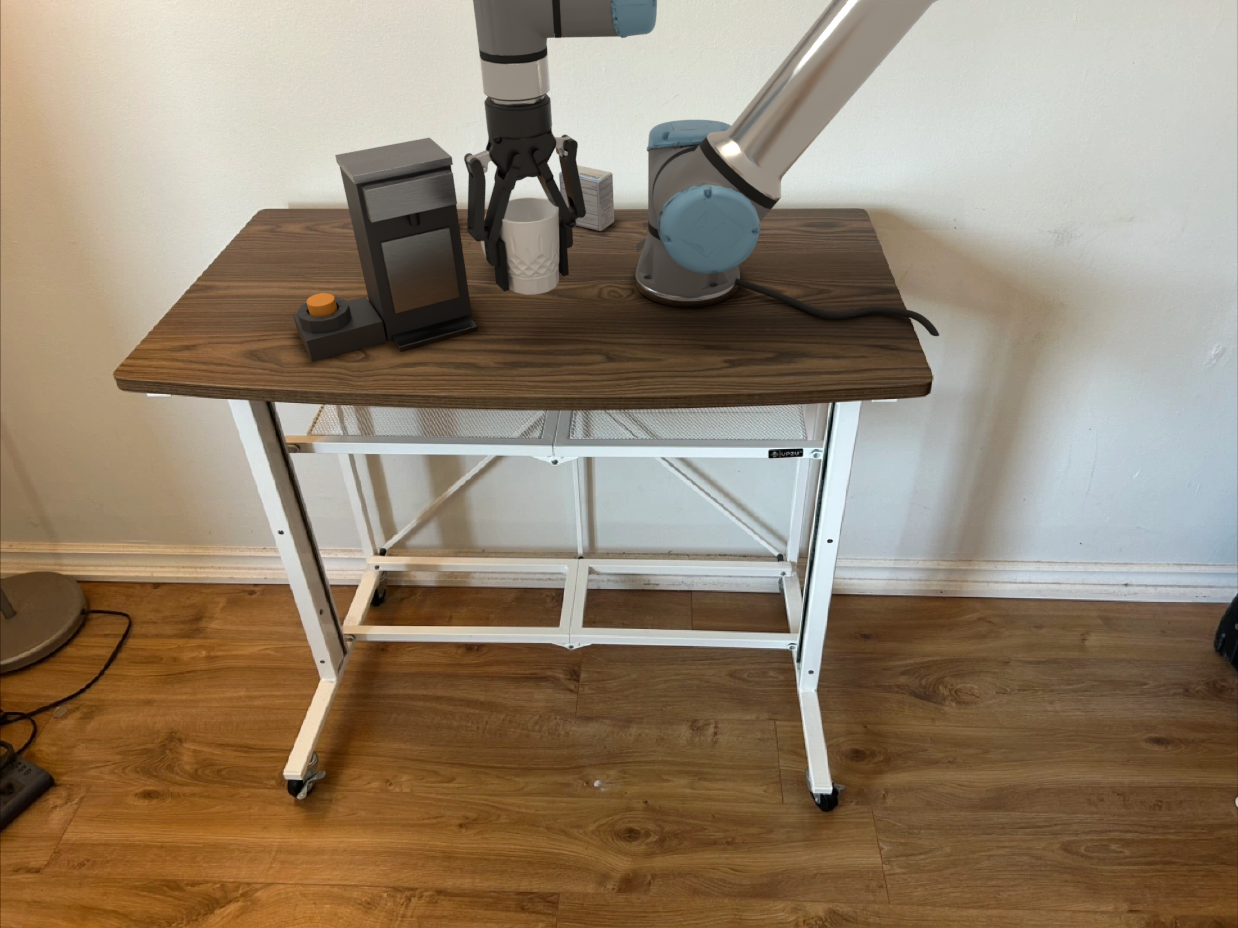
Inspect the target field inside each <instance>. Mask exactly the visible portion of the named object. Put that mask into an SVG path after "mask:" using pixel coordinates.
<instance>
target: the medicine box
mask: <svg viewBox="0 0 1238 928" xmlns="http://www.w3.org/2000/svg"><path fill="white" fill-rule="evenodd" d="M577 167H578V173H579V178H580V183H581V188H582V193H583V199H584V204H585V209H586V215H585V216H584V217H583V218H577V219H576V225H575V226H577V227H582V228H586V229H591V230H593V231H594V230H595V231H598V232H603V231H604V230H605V229H606V228H608V227H609V226H610V225H612V224H613V223H615V205H614V204H615V203H614V179H613V178H614V176H613V175H614V174H613V173H612V172H611V171H606V170H601V169H597V168H592V167H588V166H584V165H583V166H582V165H578V164H577ZM558 182H559V190H560V192H561V195H562V197H563V199H564V201H565V203H566V205H567V207H569V205H568V200H567V195H566V190H565V185H564V180H563V175H562V171H560V172H559V173H558Z"/></svg>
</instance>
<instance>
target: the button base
mask: <svg viewBox="0 0 1238 928" xmlns="http://www.w3.org/2000/svg"><path fill="white" fill-rule="evenodd" d="M334 297H335V300H336V305H337V311H336V312H334V313H332V314H331V315H327V316H312V315H310V313H309V310H308V306H307V301H306V302H304V303H302V304H301V305H300V306H299V308H298V309H297V311H296V313H293V314H292V317H293V320H294V324H295V327H296V331H297V335H298V337H299V339H300V341H301V342H302V345H303V347H304V348H305V351H306V352H307V354H308V356H309V358H310V360H311V362H317V361H321V360H324V359H327V358H331V357H335V356H339V355H342V354H347V353H351V352H354V351H357V350H362V349H365V348H369V347H372V346H376V345H380V344H383V343H387V342H388V340H387V338H386V336H385V332H384V327H383V322H382V320H381V319H380V317H379V316H378V314H377V313H376V311H375V310H374V308H373V307H372V305H371V304H370V302H369V299H368V297H366V296H362V297H358V298H354V299H350V300H346V299H344V298H342V297H338V296H334Z"/></svg>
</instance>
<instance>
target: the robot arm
mask: <svg viewBox="0 0 1238 928" xmlns="http://www.w3.org/2000/svg"><path fill="white" fill-rule="evenodd" d="M937 1H939V0H831V1H830V3H829V4H828V5H827V6H826V8H824V10H823V12H822V13H821V14H820V15H819V16H818V18H817V19H816V20H815V21H814V22H813V23H812V25H811V26H810V27H809V29H808V30H807V32H806V33H804V34H803V36H802V37H801V38H800V40H799V41H798V42H797V44H795V46H794V47H793V48H792V49H791V50H790V52H789V53H788V54H787V56H786V57H785V58H784V59H783V61H782V62H781V64H780V65H779V66H778V67H777V68H776V70H775V71H774V72H773V73H772V75H770V77H769V78H768V80H766V82H765V83H764V85H763V86H762V87H761V88H760V89H759V91H758V92H757V93H756V94H755V95H754V96H753V98H752V99H751V101H750V102H749V103H748V104H747V106H746V107H745V108H744V110H742V112H741V113H740V114H739V115H738V117H736V119H735V120H734V122H733V123H732V124H729V123H727V122H724V121H719V120H711V119H681V120H671V121H666V122H662V123H659V124H657V125H654V126H653V127H652V128H651V129H650V130H649V132H648V133H649V134H648V139H647V140H648V142H647V147H646V152H647V153H648V155H647V157H648V160H647V163H648V165H647V173H648V176H647V177H648V178H647V179H648V183H647V192H648V193H647V221H648V222H647V234H646V235H647V236H646V237H645V238H643V239H642V240H640V241H639V242H638V243H637V244H636V253H638V252H640V251H641V253H640V256H639V259H638V261H637V264H636V268H635V286H636V288H637V291H639V293H640V294H641V295H642V296H644V297H645V298H647V299H649V300H651V301H653V302H656V303H659V304H661V305H665V306H672V307H680V308H697V307H699V308H700V307H706V306H711V305H716V304H718V303H721V302H723V301H725V300H728V299H729V298H731V297H733V295H735V294H736V293H737V291H738V290H739V288H740V287H741V288H743V289H747V290H750V291H752V292H755V293H758V294H761V295H764V296H766V297H769V298H772V299H775V300H777V301H780V302H783V303H785V304H789V305H790V306H793V307H795V308H797V309H799V310H801V311H804V312H806V313H808V314H810V315H813V316H817V317H821V318H827V319H847V318H854V317H859V316H863V315H869V314H884V315H892V316H899V317H900V316H901V317H904V318H905V317H906V318H909V319H912V320H913V321H916V322H918V323H919V324H920V325H921V326H923V327H924V328H925V330H926V331H927V332H928V333H929V335H931V336H932V337H940V333H939V331H938V330H937V328H936V326H935V325H934V324H933V323H932V322H931V321H930V320H929V319H928V318H927V317H925V316H924V315H922V314H921V313H919V312H917V311H914V310H910V309H905V308H899V307H892V306H883V305H871V306H864V307H863V306H862V307H859V308H853V309H850V310H849V309H848V310H842V311H840V310H839V311H834V310H827V309H826V310H825V309H822V308H817V307H815V306H812V305H810V304H808V303H805V302H803V301H801V300H800V299H797V298H794V297H792V296H789V295H787V294H784V293H781V292H778V291H776V290H774V289H771V288H767V287H765V286H762V285H759V284H756V283H753V282H750V281H748V280H744V279H741V270H740V267H739V266H740V265H741V264H742V263H743V262H745V261H746V260H747V259H748V258H749V257H750V256H751V254H752V253H753V251H754V250H755V248H756V246H757V244H758V241H759V238H760V237H759V236H760V233H761V222H762V220H764V218H765V217H766V216H767V215H768V213H769V212H770V211H771V210H772V209H774V207H775V205H777V203H778V202H779V201H780V200H781V198H782V181H783V180H782V179H783V177H784V176H785V175H786V173H787V172H789V170H790V169H791V168H792V167H793V165H795V163H796V162H797V161H798V160H799V159H800V158H801V157H802V155H803V154H804V153H805V151H806V150H807V149H808V148H809V147H810V146H811V145H812V144H813V143H814V141H815V140H816V139H817V138H818V137H819V136H820V135H821V133H822V132H823V131H824V130H825V128H826V127H827V126H828V125H829V124H830V123H831V122H832V121H833V119H834V118H835V117H836V116H837V115H838V114H839V112H840V111H841V110H842V109H843V108H844V106H845V105H847V103H848V102H849V101H850V100H851V99H852V98H853V96H854V95H855V94H856V93H857V91H858V90H859V89H860V88H861V87H862V86H863V85H864V84H865V82H866V81H867V80H868V79H869V78H870V76H871V75H872V74H873V73H874V72H875V71H876V70H877V68H878V67H879V66H880V65H881V64H882V63H883V62H884V61H885V59H886V58H887V57H888V56H889V55H890V54H891V52H892V51H893V50H894V49H895V48H896V46H898V44H899V43H900V42H901V41H902V40H903V39H904V37H905V36H906V35H907V34H908V33H909V32H910V31H911V29H912V28H913V27H914V26H915V25H916V24H917V22H918V21H919V20H920V19H921V18H922V17H923V16H924V14H925V13H926V12H927V11H928V10H929V9H930V8H931V7H932V6H933V4H934V3H936V2H937ZM472 4H473V11H474V12H473V13H474V20H475V29H476V36H477V44H478V53H479V63H480V71H481V73H480V74H481V81H482V82H481V83H482V91H483V94H484V95H485V96H486V99H485V100H484V102H483V103H484V112H485V113H484V114H485V119H486V120H485V122H486V130H487V137H488V138H487V139H488V140H487V143H486V146H485V150H482V151H480V152H477V153H475V154H472V153H471V152H468V153H466V154H465V155H464V157H463V160H464V164H465V167H466V170H467V173H468V182H467V183H468V184H467V186H468V187H467V220H466V221H467V225H466V226H467V228H466V232H467V233H468V235H469V236H470V237H472V239H473V240H474V241H476V243H481V242H480V241H484V245H485V254H486V257H485V260H486V261H487V263H488V264H489V265H490V266H491V268H493V267H494V268H493V269H494V270H493V271H494V278H495V284H496V286H498V288H500V289H501V291H503V292H508V291H510V289H509V281H508V271H507V261H506V251H505V242H504V241H503V240H502V239H500V238H499V234H500V231H501V227H502V224H503V222H502V219H504V216H505V213H506V209H507V205H508V202H509V200H510V198H511V196H512V195H511V194H512V191H513V190H514V189H515V187H516V183H517V182H519V181H522V180H524V179H526V178H537V180H538V181H539V184H540V186H541V189H542V190H543V192H544V194H545V195H546V199H548V200H549V201H550V202H551V203H552V204H553V205H554V206H555V207H559V264H558V266H559V274H561V276H562V277H568V276H569V275H570V272H569V258H568V257H569V255H568V254H569V253H568V249H571V248H573V245H574V237H573V234H574V233H573V228H575V227H576V226H577V225H576V219H577V218H583V217H584V216H585V215H586V209H585V204H584V199H583V193H582V188H581V183H580V178H579V173H578V167H577V165H578V163H577V155H578V148H579V144H578V141H577V140H575V139H574V138H572V137H571V136H569V135H568V134H562V135H561V136H559V137H558V136H555V135H554V133H553V129H552V128H553V119H552V102H551V101H552V100H551V97H550V96H549V94H548V93H549V92H550V90H551V81H550V71H549V69H550V68H549V67H550V66H549V56H548V55H549V54H548V44H547V43H548V39H564V38H614V37H616V38H617V37H619V38H620V39H624V38H625V39H626V38H628V37H633V36H634V37H635V36H641V35H642V36H643V35H648V34H650V33H652V31H653V30H654V29H655V27H656V23H657V14H658V13H657V12H658V11H657V10H658V0H472ZM554 151H555V153H556V154H557V155H558V161H559V165H560V169H561V171H560V172H562V175H563V180H564V185H565V190H566V195H567V200H568V205H569V207H567V205H566V203H565V201H564V199H563V197H562V195H561V192H560V187H559V186H558V184H557V182H556V180H555V178H554V177H555V176H554V173H553V172H552V170H551V167H550V165H549V163H548V162H550V159H551V157H552V155H553V153H554ZM490 162H492V163H493V164H494V165H495V167H496V169H495V173H494V177H493V180H494V183H493V188H492V191H491V195H490V198H489V202H488V206H487V209H486V186H487V182H486V173H487V172H488V170H489V168H488V165H489V163H490ZM485 215H486V217H485ZM484 219H485V221H484Z"/></svg>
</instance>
